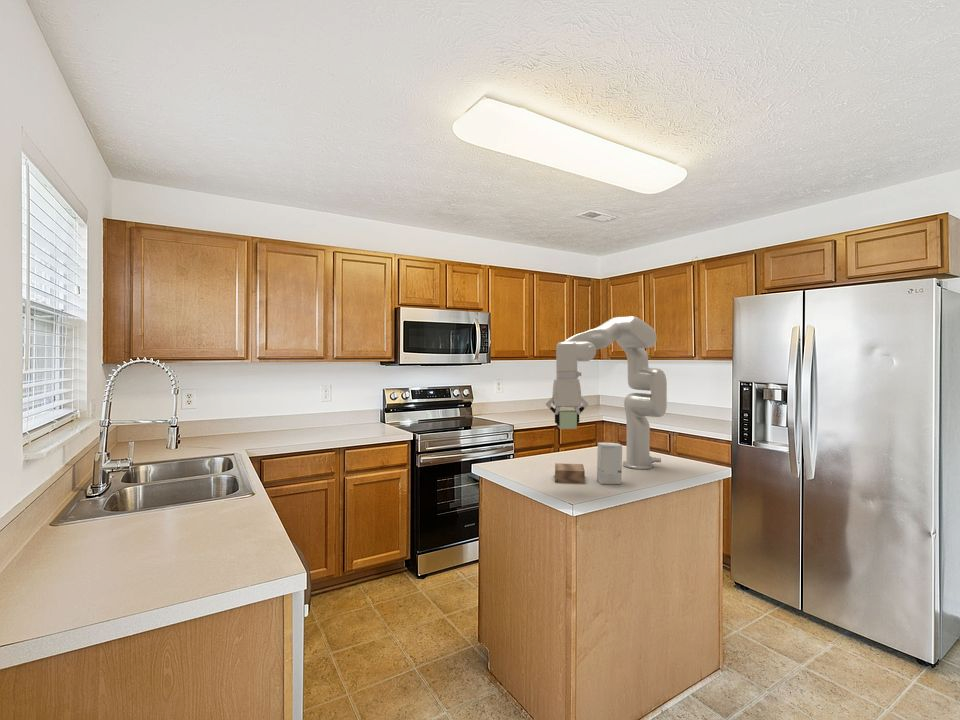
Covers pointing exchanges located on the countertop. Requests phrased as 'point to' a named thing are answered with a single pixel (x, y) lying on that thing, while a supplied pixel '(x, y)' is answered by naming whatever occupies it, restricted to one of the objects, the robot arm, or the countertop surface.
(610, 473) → the skincare box
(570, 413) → the sage cube
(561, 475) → the walnut block
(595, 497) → the countertop surface
